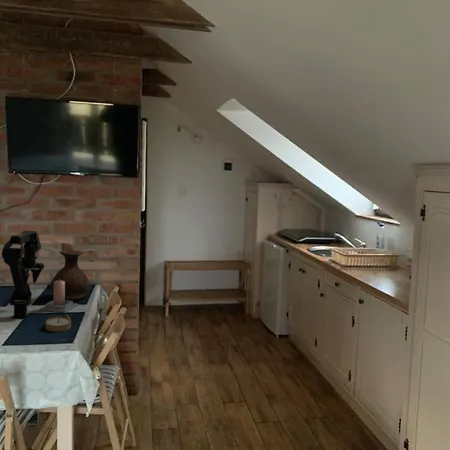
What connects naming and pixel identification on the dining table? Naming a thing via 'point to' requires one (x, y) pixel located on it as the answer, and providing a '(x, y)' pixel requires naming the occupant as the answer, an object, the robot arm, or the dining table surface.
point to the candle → (59, 293)
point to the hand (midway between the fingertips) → (29, 284)
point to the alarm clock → (58, 323)
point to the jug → (72, 275)
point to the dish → (59, 307)
